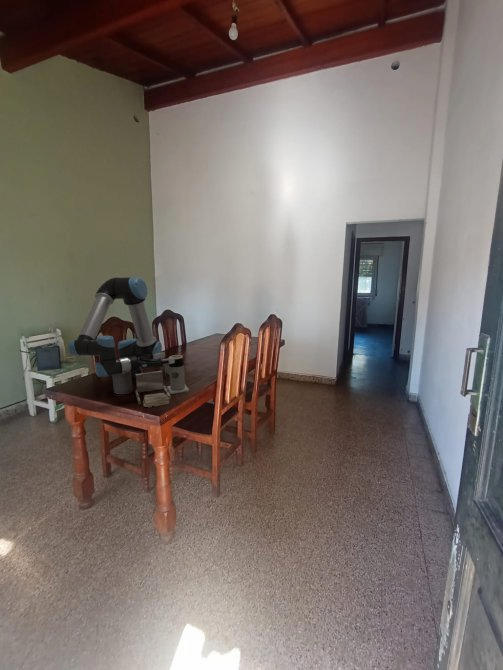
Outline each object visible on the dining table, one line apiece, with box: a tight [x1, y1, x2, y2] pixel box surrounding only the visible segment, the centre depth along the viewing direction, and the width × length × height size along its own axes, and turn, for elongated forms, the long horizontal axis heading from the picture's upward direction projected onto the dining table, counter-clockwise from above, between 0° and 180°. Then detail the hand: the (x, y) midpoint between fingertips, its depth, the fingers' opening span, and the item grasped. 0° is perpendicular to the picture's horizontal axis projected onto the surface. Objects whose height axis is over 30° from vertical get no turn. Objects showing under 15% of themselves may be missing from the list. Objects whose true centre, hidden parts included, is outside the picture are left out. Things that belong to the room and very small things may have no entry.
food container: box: [163, 364, 170, 380], centre depth 208 cm, size 12×6×10 cm, turn 65°
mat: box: [166, 384, 190, 395], centre depth 188 cm, size 10×10×1 cm
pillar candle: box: [111, 371, 134, 395], centre depth 184 cm, size 10×10×15 cm
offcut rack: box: [135, 370, 172, 408], centre depth 177 cm, size 26×16×10 cm, turn 24°
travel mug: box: [168, 354, 186, 390], centre depth 186 cm, size 8×8×18 cm
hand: (169, 357), depth 182 cm, fingers open, 13 cm apart
